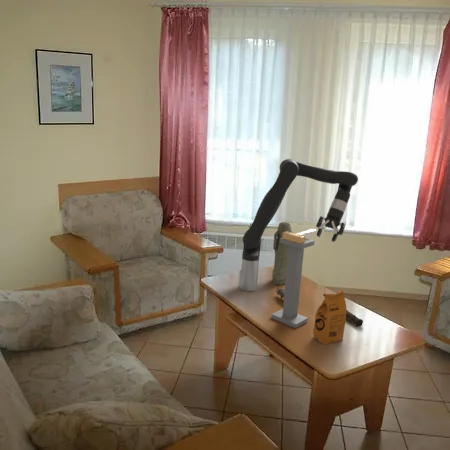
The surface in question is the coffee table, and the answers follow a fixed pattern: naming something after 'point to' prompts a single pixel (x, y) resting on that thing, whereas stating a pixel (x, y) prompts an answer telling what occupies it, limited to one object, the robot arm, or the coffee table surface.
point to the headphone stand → (293, 285)
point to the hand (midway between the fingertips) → (325, 238)
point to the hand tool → (354, 319)
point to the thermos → (280, 255)
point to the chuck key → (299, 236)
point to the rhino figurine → (281, 292)
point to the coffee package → (330, 318)
